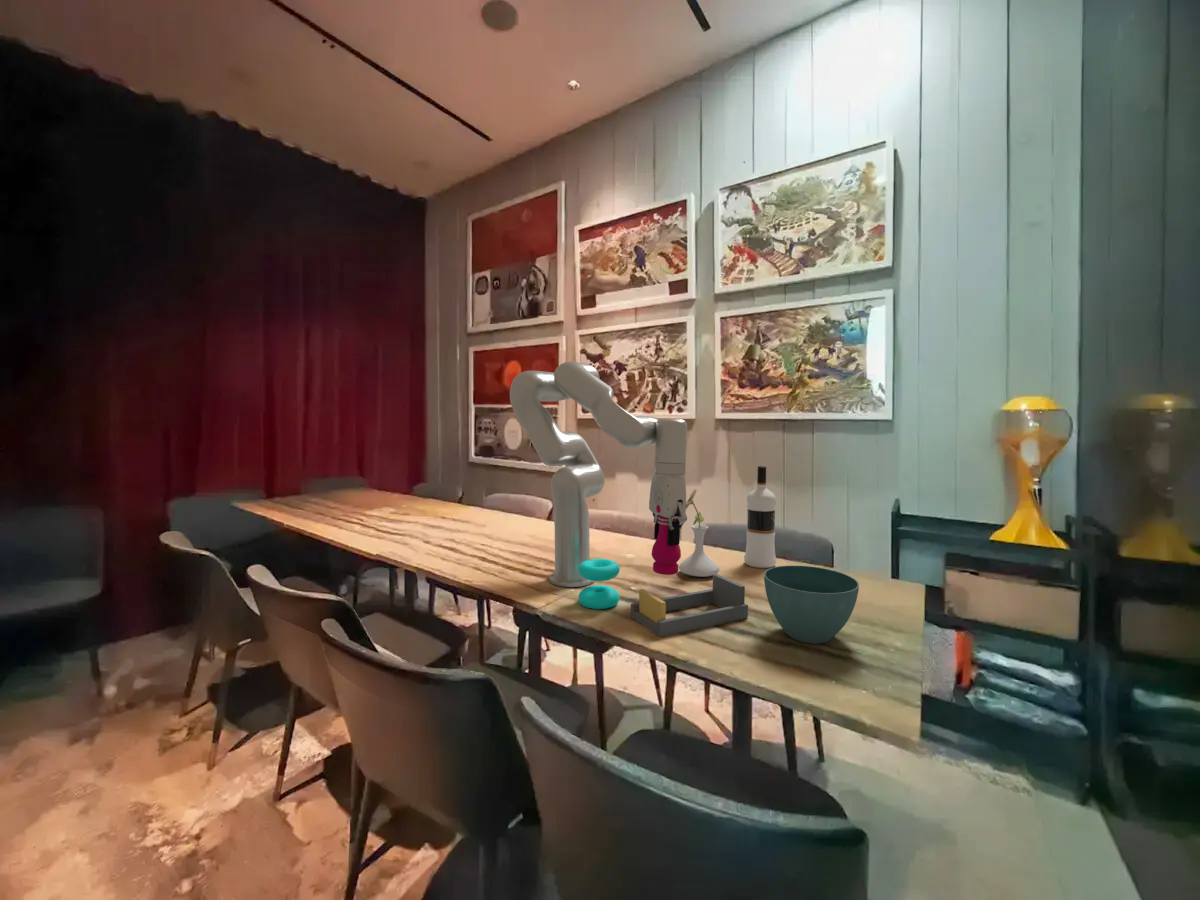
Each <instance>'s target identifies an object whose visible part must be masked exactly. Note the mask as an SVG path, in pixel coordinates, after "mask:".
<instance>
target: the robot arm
mask: <svg viewBox="0 0 1200 900" xmlns="http://www.w3.org/2000/svg"><path fill="white" fill-rule="evenodd" d="M614 393H615V392H614V390H613V388H612V387H611V386H610V385H609V384H607V383H606V382H604V381H602V380H601V379H600V374H599V372H598V370H597V369H596V368H595V367H594V366H592V365H591V364H588V363H585V362H577V361H565V362H561V363H560V364H559V365H558V366H557V367H556V368H555V370H554V372H551V371H542V370H525V371H522V372H519V373H518V374H517V375H516V376H515V377H514V378H513V380H512V382H511V384H510V389H509V401H510V405H511V408H512V411H513V413H514V414H515V416H516V417H517V419H518V421H519V422H520V425H522V428H523V429H524V430H525V432H526V434H527V436H528V439H529V440H530V442H531V444H532V446H533V447H534V449H535V451H536V453H537V456H538V457H539V458H540V460H541V462H542V463H543V464H544V465H546V466H547V467H561V466H563V467H562V468H559V469H558V470H556V471H555V473H554V474H553V475H552V477H551V479H550V491H551V498H552V502H553V512H554V513H553V515H554V516H553V517H554V520H553V521H554V524H553V525H554V572H552V573H551V574H550V575H549V577H548V578H549V583H550V584H552V585H555V586H558V587H563V588H579V587H584V586H589V585H591V584H593V583H594V582H595V581H592V580H588V579H585V578H583V577H582V576H581V575H580V574H579V571H578V567H579V565H580V564H581V563H582V562H584V561H586V560H590V558H591V557H590V512H589V508H588V505H587V502H586V498H590V497H593V496H596V495H599V493H600V492H601V491H602V490H603V488H604V486H605V475H604V472H603V470H602V467H601V466H600V464H599V462H598V460H597V459H596V457H595V455H594V452H592V450H591V448H590V446H589V445H588V443H587V441H586V440H585V438H584V437H582V435H580V434H579V433H577V432H574V431H569V430H567V431H563V430H561V428H560V427H559V425H558V424H557V423H556V421H555V418H554V417H553V415H552V414H551V412H549V410H548V409H546V407H545V406H543V404H542V403H541V402H548V403H549V402H551V403H552V402H553V403H554V402H561V401H565V400H569V399H571V400H573V401H575V402H576V403H577V404H578V405H579V406H581V407H582V408H584V409H585V410H586V411H587V412H588V413H590V414H591V415H592V419H594V421H595V423H596V425H598V427H599V428H600V429H601V430H602V431H603V432H604V433H606V434H607V435H608V436H609V437H611V438H612V439H613V440H615V441H616V442H617V443H619V444H620V445H623V446H625V447H627V448H632V449H633V448H634V449H635V448H640V447H643V448H644V447H650V446H654V447H655V448H654V468H653V469H654V470H653V471H654V472H653V474H652V478H651V483H650V490H649V503H648V509H649V511H650V512H651V513H652V516H653V524H654V534H653V539H654V540H655V541H656V539H657V537H658V533H659V523H658V522H657V521H658V516H659V515H660V516H663V517H666V518H668V519H669V527H670V529H668V537H667V545H668V546H674V545H679V546H680V543H681V541H680V539H681V529H683V528H682V527H683V525H684V524H685V522H687V521H688V516H687V513H686V512H687V511H686V510H687V509H686V502H687V485H686V464H687V462H686V461H687V460H686V459H687V441H688V423H687V422H686V420H685V419H681V418H668V417H666V418H659V417H654V416H649V415H647V416H644V415H642V416H641V415H639V416H636V415H635V416H634V415H632V414H631V413H629V412H628V411H626V410H625V409H624V408H623V407H621V406H620V405H619V404H618V403H616V401H615V400H614ZM658 504H659V505H660V509H661V511H660V513H658V512H657V511H656V507H657V505H658ZM675 513H676V514H677V516H674V515H675ZM673 519H676V521H675V522H674V523H673Z"/></svg>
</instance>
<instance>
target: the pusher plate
mask: <svg viewBox="0 0 1200 900" xmlns="http://www.w3.org/2000/svg"><path fill="white" fill-rule="evenodd" d="M638 594H639V595H638V598H639V599H638V602H639V612H640V613H642V614H643V615H645V616H646V617H648V618H649V619H651V620H652V621H654V622H655V623H657V621H659V620H664V619H667V618H666V613H667V612H666V602H664V601H663V600H661V599H659V597H658V596H656V595H655V594H652V593H651V592H649V591H647V590H645V589H644V588H641V589H638Z"/></svg>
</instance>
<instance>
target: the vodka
mask: <svg viewBox="0 0 1200 900" xmlns="http://www.w3.org/2000/svg"><path fill="white" fill-rule="evenodd" d="M756 477H757V479H756V480H757V481H756V485H757V486H756V488H755V489H753V490H751V491H750V492H749V493H748V494H747V496H746V502H747V503H746V509H747V511H746V512H747V516H746V517H747V519H746V522H747V523H746V547H745V554H744V555H743V556H744V557H743V558H744V559H743V560H744V562H745V563H744V564H745V565H747V566H748V565H749V567H751V568H754V569H755V568H756V569H770V568H773V567H776V564H777V557H776V549H775V546H776V545H775V536H776V532H775V531H776V529H775V528H776V527H775V526H776V523H775V522H776V515H775V514H776V509H777V507H776V502H777V497H776V495H775V493H773V492H772V491H771V490H769V489H768V488H767V466H765V465H760V466H757V476H756Z"/></svg>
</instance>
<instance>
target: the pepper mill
mask: <svg viewBox="0 0 1200 900" xmlns="http://www.w3.org/2000/svg"><path fill="white" fill-rule="evenodd" d="M656 511H657V512H658V513H660V511H661V509H660V505H659V504H658V505H657V507H656ZM674 516H677V514H676V513H675V515H674ZM675 521H676V519H673V523H674V522H675ZM657 522H658V523H659V533H658V537H657V539H656V540H655V541H654V544H653V545H652V548H651V556H652V557H651V558H652V559H653V560H654V562H653V563H652V571H653V572H654V573H656V574H659V575H663V576H665V575H666V576H671V575H676V574H677V573H679V564H678V561H679V560H680V559H681V556H682V551H681V546H680V544H679V545H674V546H668V545H667V537H668V529H670V527H669V519H668V518H666V517H663V516H660V515H659V516H658V521H657Z"/></svg>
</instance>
